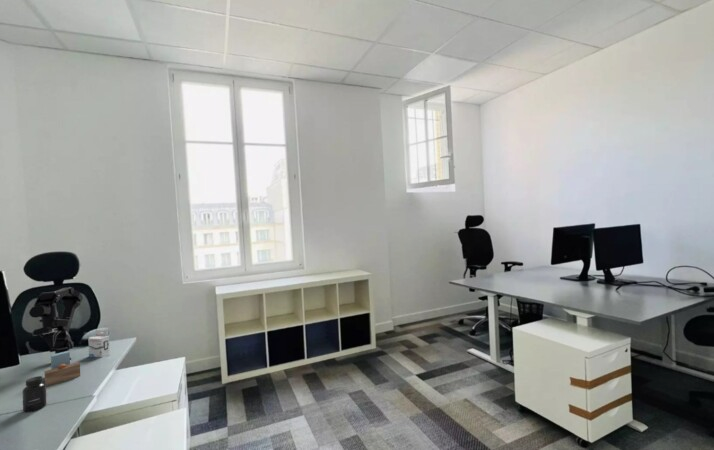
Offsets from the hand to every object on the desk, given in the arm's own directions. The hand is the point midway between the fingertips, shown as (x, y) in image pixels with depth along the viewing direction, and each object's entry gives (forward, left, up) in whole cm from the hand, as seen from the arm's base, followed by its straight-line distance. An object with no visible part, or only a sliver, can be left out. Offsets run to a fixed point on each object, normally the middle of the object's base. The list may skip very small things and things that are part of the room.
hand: (52, 346), depth 164 cm
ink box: (-3, +19, -13) cm, 23 cm away
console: (+15, +1, -13) cm, 20 cm away
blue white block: (+14, +1, -12) cm, 18 cm away
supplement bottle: (+40, -10, -13) cm, 44 cm away
